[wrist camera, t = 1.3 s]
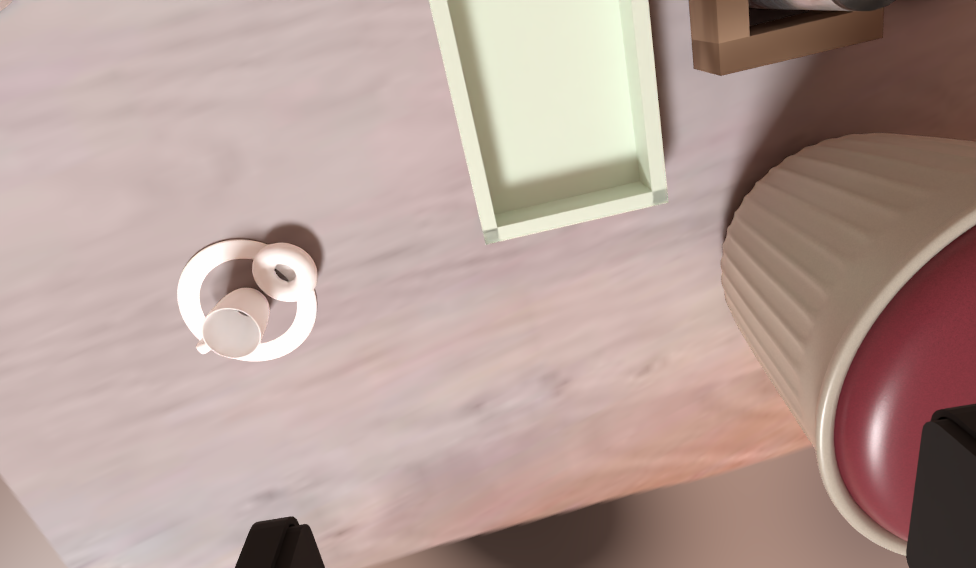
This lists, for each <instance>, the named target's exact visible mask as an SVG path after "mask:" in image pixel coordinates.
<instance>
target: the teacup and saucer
mask: <svg viewBox="0 0 976 568" xmlns="http://www.w3.org/2000/svg"><path fill="white" fill-rule="evenodd" d="M233 259H253V264H252V273H253V276H254V279H255V282H256V283H257V285H258V286H259V287H260V289H261V290H262V291H263V292H265V293H266V294H267V295H268V296H270V297H272V298H274V299H276V300H280V301H286V302H294V301H297V314H296V317H295V320H294V322H293V324H292V326H291V327H290V328H289V329H288V331H287V332H286V333H284V334H283V335H282V336H280V337H279V338H277V339H275V340H273V341H270V342H266V343H261V344H260V342H261V340H262V337H263V335H264V332H265V329H266V326H267V323H268V319H269V313H270V309H269V303H268V301H267V299H266V297H265V296H264V295H263V294H262V293H261V292H260V291H258V290H256V289H253V288H240V289H237V290H234V291H232V292H231V293H229V294H228V295H226V296H225V297H224V298H223V299H222V300H220V301H219V302H218V304H217V305H216V306H215V307H214V308H213V309H212V310H211V311H210V312H209V314H208V315H207V316H206V318H205V316H204V314H203V312H202V309H201V306H200V300H199V294H200V288H201V284H202V282H203V280H204V278H205V277H206V275H207V274H208V273H209V272H210V271H211V270H212V269H213V268H214V267H216V266H217V265H219V264H221V263H223V262H226V261H229V260H233ZM275 269H277V270H278V271H279V272H281V273H282V274H283V275H284V276H285V277H286V278H287V280H288V281H285V280H282V279H281V278H279V277H278V276H277V274H276V272H275V271H274V270H275ZM316 284H317V268H316V265H315V263H314V261H313V259H312V258H311V257H310V255H309V254H308V253H307V252H305V251H304V250H303V249H301V248H300V247H298V246H295V245H293V244H289V243H274V244H269V245H268V244H265V243H261V242H257V241H252V240H227V241H222V242H218V243H215V244H213V245H210V246H208V247H206V248H204V249H203V250H201V251H200V252H198V253H197V254H196V255H195V256H194V257H192V259H191V260H190V261H189V262H188V263H187V265H186V266H185V268H184V269H183V271H182V273H181V276H180V279H179V283H178V289H177V298H178V305H179V309H180V312H181V315H182V317H183V319H184V321H185V323H186V325H187V326H188V328H189V329H190V330H191V332H192V333H193V334H194V335H195V336H196V337H197V338H198V339H199V340H200V341H199V342H198V344H197V345H196V348H197V350H198V351H199V352H200V353H202V354H205V353H207V352H209V351H210V350H212V351H214V352H215V353H217V354H219V355H221V356H223V357H227V358H234V359H238V360H244V361H266V360H271V359H275V358H278V357H281V356H284V355H286V354H288V353H290V352H291V351H293V350H294V349H296V348H297V347H298V346H299V345H301V344H302V343H303V342H304V340H305V339H306V338H307V337H308V335H309V334H310V332H311V330H312V328H313V326H314V323H315V320H316V315H317V300H316V294H315V291H314V288H315V286H316ZM237 310H238V311H241V312H243V313H245V314H247V315H248V316H250V317H248V316H244V315H242V314H240V313H239V312H238V311H237Z"/></svg>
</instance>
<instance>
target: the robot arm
mask: <svg viewBox="0 0 976 568" xmlns="http://www.w3.org/2000/svg"><path fill="white" fill-rule="evenodd" d="M12 1H13V0H0V11H2V10H3V9H4V8H5V7H7V6H8V5H9V4H10V3H11V2H12ZM906 558H907V563H908V565H909V568H976V403H975V404H969V405H963V406H957V407H951V408H945V409H940V410H937V411H935V412H934V413H933V415H932V417H931V421H929V422H926V423H925V424H924V425H923V429H922V435H921V442H920V450H919V457H918V465H917V473H916V480H915V488H914V496H913V503H912V511H911V518H910V526H909V534H908V541H907V549H906ZM235 568H325V566H324V564H323V561H322V558H321V555H320V553H319V550H318V547H317V544H316V542H315V539H314V536H313V534H312V531H311V529H310V527H309V526H308V525H307V524H303V525H299V523H298V521H297V519H295V518H294V517H285V518H278V519H272V520H266V521H260V522H256V523H255V524H253V525H252V527H251V529H250V531H249V533H248V536H247V538H246V541H245V544H244V546H243V549H242V551H241V554H240V556H239V559H238V561H237V564H236V566H235Z"/></svg>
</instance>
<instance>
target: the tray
mask: <svg viewBox="0 0 976 568" xmlns="http://www.w3.org/2000/svg"><path fill="white" fill-rule="evenodd" d="M429 3H430V7H431V12H432V16H433V20H434V25H435V29H436V33H437V37H438V42H439V46H440V50H441V55H442V59H443V63H444V67H445V72H446V76H447V80H448V85H449V89H450V93H451V97H452V102H453V106H454V110H455V115H456V119H457V123H458V128H459V132H460V136H461V140H462V145H463V149H464V153H465V158H466V162H467V166H468V170H469V175H470V179H471V183H472V188H473V192H474V196H475V200H476V205H477V209H478V213H479V218H480V222H481V226H482V230H483V235H484V239H485V243H486V245H487V244H491V243H495V242H500V241H504V240H508V239H513V238H517V237H521V236H526V235H530V234H534V233H539V232H543V231H547V230H552V229H556V228H560V227H565V226H569V225H573V224H578V223H582V222H586V221H590V220H595V219H599V218H603V217H608V216H612V215H616V214H621V213H625V212H629V211H634V210H638V209H642V208H647V207H651V206H655V205H660V204H664V203H668V194H667V184H666V174H665V164H664V153H663V143H662V133H661V123H660V113H659V103H658V93H657V83H656V73H655V63H654V53H653V42H652V32H651V22H650V12H649V2H648V0H429Z"/></svg>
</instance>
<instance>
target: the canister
mask: <svg viewBox="0 0 976 568" xmlns="http://www.w3.org/2000/svg"><path fill="white" fill-rule="evenodd" d="M722 248H723V257H722V259H721V263H720V265H721V269H722V276H721V282H722V286H723V288H724V290H725V300H726V302H727V305H728V307H729V309H730V310H731V313H732V316H733V318H734V320H735V322H736V324H737V326H738V328H739V330H740V331H741V333H742V335H743V336H744V338H745V340H746V341H747V343H748V345H749V346H750V348H751V350H752V351H753V353H754V355H755V357H756V358H757V360H758V361H759V363H760V365H761V366H762V368H763V369H764V371H765V372H766V374H767V376H768V377H769V379H770V380H771V382H772V383H773V385H774V386H775V388H776V390H777V391H778V393H779V394H780V396H781V397H782V399H783V400H784V402H785V403H786V405H787V406H788V408H789V409H790V411H791V413H792V414H793V416H794V417H795V419H796V420H797V422H798V424H799V425H800V427H801V428H802V430H803V431H804V433H805V435H806V436H807V438H808V439H809V440H810V442H811V443H812V445H813V446H814V448H815V450H816V457H817V463H818V468H819V472H820V475H821V478H822V482H823V484H824V486H825V489H826V491H827V493H828V495H829V497H830V498H831V500H832V502H833V503H834V505H835V506H836V508H837V509H838V511H839V512H840V513H841V514H842V516H843V517H844V518H845V519H846V520H847V521H848V522H849V523H850V524H851V525H852V526H853V527H854V528H855V529H856V530H857V531H859V532H860V533H861V534H862V535H864V536H865V537H867V538H868V539H870V540H871V541H873V542H874V543H876V544H878V545H880V546H882V547H884V548H886V549H888V550H891V551H893V552H896V553H899V554H902V555H905V556H906V549H907V541H908V534H909V526H910V518H911V511H912V503H913V496H914V488H915V480H916V473H917V465H918V457H919V450H920V442H921V435H922V429H923V425H924V424H925V423H926V422H929V421H931V417H932V415H933V413H934V412H935V411H937V410H940V409H945V408H951V407H957V406H963V405H969V404H975V403H976V141H967V140H958V139H949V138H940V137H929V136H918V135H905V134H893V133H867V134H849V135H844V136H842V137H839V138H830V139H826V140H823V141H821V142H819V143H818V144H817V145H812V146H807V147H805V148H803V149H802V150H801V151H800V152H798V153H796V154H794V155H791V156H788V157H786V158H785V159H784V160H783V162H781V163H780V164H779V165H777V166H776V167H773V168H771V169H770V170H769V172H768V173H767V174H766V175H765V176H764V177H763V178H762V179H761V180H759V181H757V182H756V183H755V186H754V188H753V189H752V190H751V191H750V193H749V194H747V195H746V196H744V199H743V202H742V204H741V205H740V207H739V208H738V210H736V211H735V212H734V218H733V220H732V223H731V224H730V226H729V227H728V228H727V236H726V239H725V242H724V243H723V246H722Z"/></svg>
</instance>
